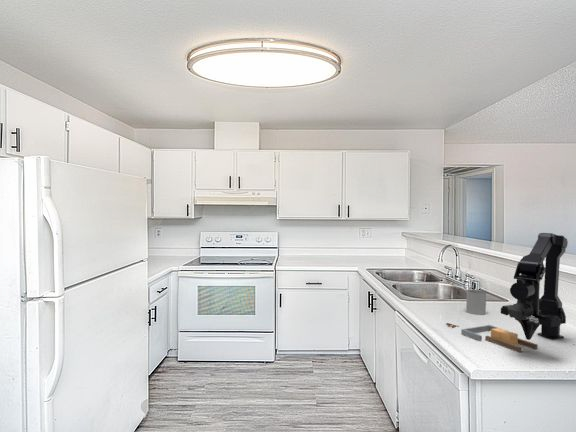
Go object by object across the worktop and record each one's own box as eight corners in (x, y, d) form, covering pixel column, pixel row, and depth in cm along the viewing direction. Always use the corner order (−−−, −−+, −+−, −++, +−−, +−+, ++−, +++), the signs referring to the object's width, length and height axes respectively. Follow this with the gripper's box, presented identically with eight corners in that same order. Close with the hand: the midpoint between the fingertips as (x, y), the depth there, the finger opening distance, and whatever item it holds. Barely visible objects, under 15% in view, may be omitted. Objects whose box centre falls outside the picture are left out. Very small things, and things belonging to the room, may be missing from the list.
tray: (489, 329, 168) (489, 324, 168) (508, 336, 160) (508, 331, 160) (461, 334, 162) (461, 329, 162) (480, 341, 154) (480, 335, 154)
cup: (486, 315, 190) (487, 294, 190) (467, 313, 192) (467, 292, 192) (484, 311, 198) (484, 290, 198) (465, 309, 200) (466, 289, 200)
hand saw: (408, 315, 190) (408, 314, 190) (415, 314, 192) (415, 313, 192) (453, 329, 169) (453, 328, 169) (460, 328, 172) (460, 326, 172)
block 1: (498, 338, 158) (498, 327, 158) (507, 341, 154) (507, 330, 154) (490, 339, 156) (491, 329, 156) (499, 342, 153) (500, 332, 153)
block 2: (507, 341, 154) (507, 331, 154) (517, 344, 151) (517, 334, 151) (500, 342, 153) (500, 332, 153) (509, 346, 149) (510, 335, 149)
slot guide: (502, 336, 159) (502, 333, 159) (537, 348, 147) (537, 344, 146) (485, 339, 155) (485, 336, 155) (519, 352, 143) (519, 348, 143)
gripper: (490, 291, 149) (489, 334, 150) (540, 303, 132) (538, 351, 133) (511, 289, 154) (510, 330, 155) (562, 300, 137) (560, 347, 138)
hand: (528, 339), depth 145 cm, fingers closed
